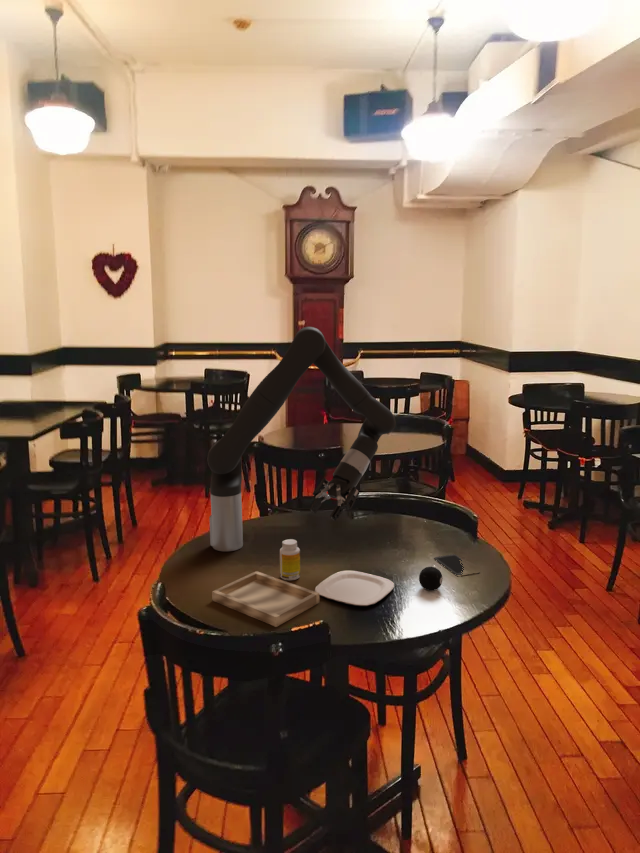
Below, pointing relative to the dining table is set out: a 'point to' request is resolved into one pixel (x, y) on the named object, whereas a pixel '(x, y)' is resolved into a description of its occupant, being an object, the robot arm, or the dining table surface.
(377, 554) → the dining table surface
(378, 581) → the plate
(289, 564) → the supplement bottle
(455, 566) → the cell phone
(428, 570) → the billiard ball
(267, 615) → the serving tray
